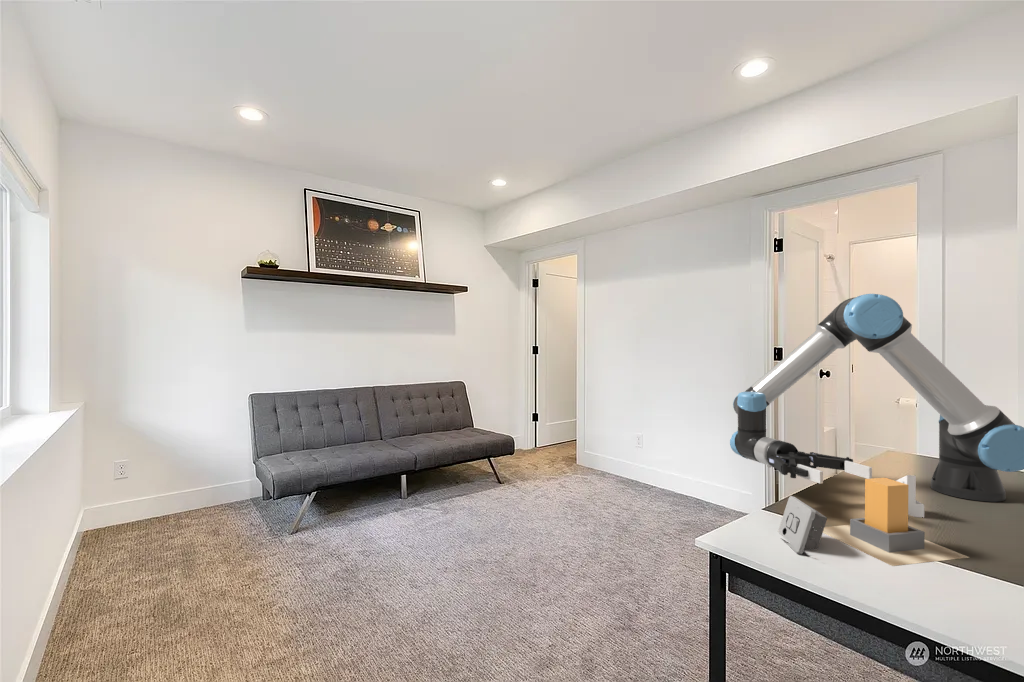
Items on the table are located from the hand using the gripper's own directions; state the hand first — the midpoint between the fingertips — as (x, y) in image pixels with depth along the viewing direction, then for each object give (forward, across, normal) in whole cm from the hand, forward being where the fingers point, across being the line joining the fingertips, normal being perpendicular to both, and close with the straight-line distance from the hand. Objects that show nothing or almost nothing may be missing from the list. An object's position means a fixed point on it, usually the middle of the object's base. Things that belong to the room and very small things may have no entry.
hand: (846, 475), depth 111 cm
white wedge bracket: (-4, -22, -12) cm, 26 cm away
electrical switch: (+6, +19, -12) cm, 23 cm away
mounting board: (+11, +2, -12) cm, 16 cm away
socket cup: (+11, +2, -11) cm, 15 cm away
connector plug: (+11, +2, -10) cm, 15 cm away
